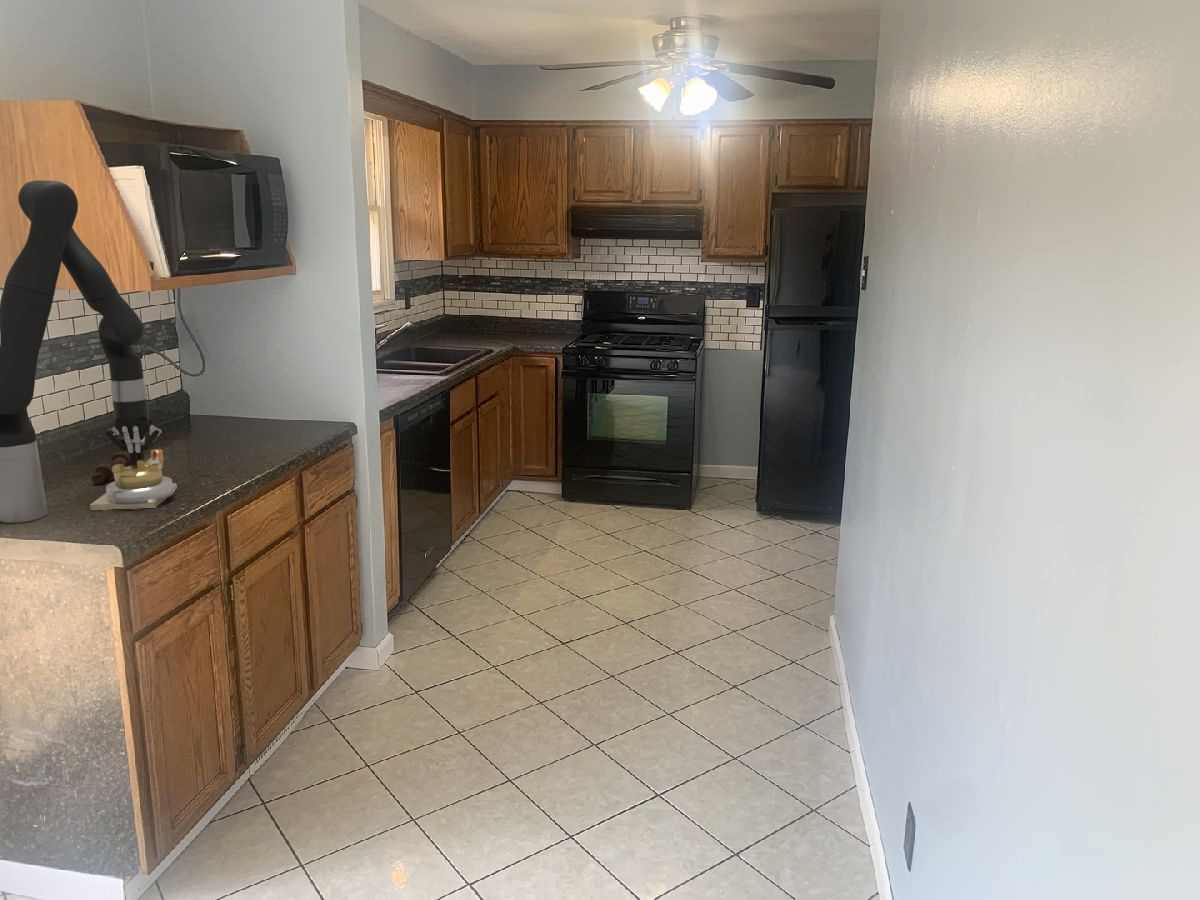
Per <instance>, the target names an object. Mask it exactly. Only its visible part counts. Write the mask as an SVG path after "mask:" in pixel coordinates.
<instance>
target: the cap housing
mask: <svg viewBox="0 0 1200 900" xmlns="http://www.w3.org/2000/svg"><path fill="white" fill-rule="evenodd" d="M162 479H163V480H162V482H160V483H158V484H156V485H152V486H148V487H142V488H119V487H116V486H115V480H113V481H111V482H110V483H108V484H107V485H106V486H105V491H106V492H105V493H104V494H103V495H101V496H100V497H98V498H97V499H96V500H94V501H93V502H92V503H90V504H89V506H90V507H89V508H90V511H91V510H103V511H111V510H110V509H132V510H143V509H142V508H155V509H157V508H158V507H159V506H160V505H161V504H162V503H163V502H164V501H166V500H167V499H168V498H169V497H171V496H172V495H173V494H174V493H175V492H176V491H177V490H178V485H177V483H175V482H174V483H173V480H172V478H171V477H168V476H164V475H162ZM176 489H177V490H176ZM175 490H176V491H175ZM167 497H168V498H167ZM166 498H167V499H166ZM165 499H166V500H165ZM161 502H162V503H161ZM160 503H161V504H160ZM159 504H160V505H159ZM158 505H159V506H158ZM157 506H158V507H157ZM156 507H157V508H156ZM139 508H141V509H139ZM107 509H109V510H107Z"/></svg>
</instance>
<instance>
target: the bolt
mask: <svg viewBox="0 0 1200 900" xmlns="http://www.w3.org/2000/svg"><path fill="white" fill-rule="evenodd" d="M116 464H124V467H128V466H133V465H131V462H130V454H129V452H123V451H121V452H115V453H114V454H113V456H112V457H111V460H110V462H108V463H104V464H98V465H97V467H96V468H95V470H94V472H93V473H92V474H91V475H90V476H91V477H90V478H91V481H92V483H93V484H97V485H100V484H103V483H104V481H109V482H112V481H114V480H115V479H114V472H113V471H112V467H113V466H115V465H116ZM111 480H112V481H111Z"/></svg>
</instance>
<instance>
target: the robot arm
mask: <svg viewBox="0 0 1200 900" xmlns="http://www.w3.org/2000/svg"><path fill="white" fill-rule="evenodd" d="M17 199H18V205H19V207H20V209H21V211H22V212H23V214H24V215H25V216H26V217H27V218H28V220H29V221H30V222H31V223H30V227H29V231H28V232H29V233H28V236H27V239H26V242H25V244H24V246H23V248H22V249H21V251H20V253H19V255H18V256H17V257H16V259H15V261H14V262H13V264H12V265H11V267H10V269H9V271H8V273H7V276H6V277H5V281H4V285H3V287H2V288H3V289H2V293H1V298H0V522H1V523H5V524H17V523H26V522H31V521H35V520H38V519H41V518H43V517H45V516H47V515H48V507H47V506H48V505H47V500H46V494H45V488H44V481H43V475H42V468H41V461H40V455H39V449H38V443H37V436H36V430H35V427H34V426H33V424H32V422H31V419H30V417H29V414H28V413H29V412H28V407H29V405H30V404H31V402H32V401H33V398H34V392H35V383H36V375H37V366H38V360H39V354H40V350H41V346H42V343H43V340H44V337H45V332H46V329H47V324H48V321H49V317H50V314H51V310H52V306H53V303H54V302H53V301H54V296H55V293H56V287H57V282H58V279H59V276H60V275H59V274H60V269H61V266H62V265H61V264H63V266H64V267H65V268H66V270H67V272H68V274H69V275H70V276H71V278H72V280H73V282H74V283H75V285H76V287H77V288H78V290H79V292H80V294H81V295H82V297H83V299H84V301H85V302H86V303H87V306H89V308H90V309H92V310H93V311H95V312H97V313H99V314H100V315H101V317H102V318H101V319H100V321H99V324H98V336H99V339H100V340H99V341H100V344H101V346H102V348H103V352H104V353H105V357H106V358H107V361H108V367H109V375H110V376H109V377H110V392H111V399H112V401H111V402H112V407H113V414H114V416H113V417H114V422H113V426H112V428H111V429H108V430H107V431H105V436H106V437H108V439H109V440H111V442H112V443H114V444H115V446H116V447H118V449H119V450H121V452H123V451H125V452H127V453H128V454H129V455H130V462H131V465H133V466H134V465H137V461H138V460H146V459H145V451H147V450H149V449H151V448H152V447H153V445H154V444H155V442H156V441H157V440H158V439H159V437H160V436H161V434H162V432H163V429H162V428H160V427H159V428H158V427H156V426H155V425H153V421H152V420H151V418H150V411H149V401H148V400H149V399H148V392H147V387H146V386H147V385H146V382H145V378H144V370H143V363H142V358H141V357H140V355H138V354H136V353H135V352H134V351H133V348H132V345H136V344H138V343H139V342H141V341H142V339H143V337H144V326H143V323H142V321H141V319H140V318H139V315H138V314H137V313H136V312H135V310H134V309H133V308H132V307H131V306H130V304H129V303H128V302H127V301H126V300H125V299H124V298H123V297H122V296H121V295H120V293H119V292H118V289H117V288H116V285H115V284H114V282H113V281H112V278H111V277H110V275H109V273H108V272H107V270H106V269H105V268H104V266H103V265H102V263H101V262H100V261H99V260H98V258H96V256H95V255H94V254H93V253H92V252H91V251H90V249H89V248H88V247H87V246H86V245H85V244H84V242H83V241H82V240H81V239H80V237H79V236H78V235H77V232H75V229H74V228H73V226H74V223H75V220H76V218H77V215H78V210H79V202H78V197H77V195H76V193H75V191H74V190H73V188H71V187H70V186H69V185H68V184H66V183H64V182H61V181H57V180H43V179H42V180H40V179H39V180H32V181H27V182H26V183H24V184H23V185H22V186H21V187H20V190H19V192H18V197H17ZM148 432H149V435H150V436H149V437H148V439H147V440H146V442H145V439H146V437H145V436H147V434H148Z"/></svg>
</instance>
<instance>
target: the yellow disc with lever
mask: <svg viewBox="0 0 1200 900" xmlns="http://www.w3.org/2000/svg"><path fill="white" fill-rule="evenodd" d="M164 467H165V462H164V455H163V449H161V448H157V449H156V448H155V449H151V450H150V458H148V459H145V460H138V461H137V465H134V466H128V467H124V464H116V465H115V466H113V467H112V471H113V472H114V479H113V480H114V481H115V486H116V487H119V488H142V487H148V486H152V485H156V484H158V483H160V482H162V480H163V479H162V476H163V472H162V469H163V468H164Z"/></svg>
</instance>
